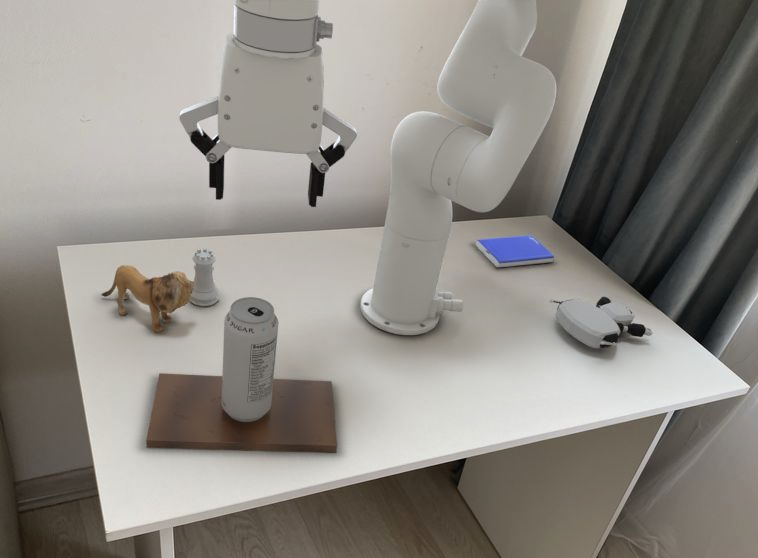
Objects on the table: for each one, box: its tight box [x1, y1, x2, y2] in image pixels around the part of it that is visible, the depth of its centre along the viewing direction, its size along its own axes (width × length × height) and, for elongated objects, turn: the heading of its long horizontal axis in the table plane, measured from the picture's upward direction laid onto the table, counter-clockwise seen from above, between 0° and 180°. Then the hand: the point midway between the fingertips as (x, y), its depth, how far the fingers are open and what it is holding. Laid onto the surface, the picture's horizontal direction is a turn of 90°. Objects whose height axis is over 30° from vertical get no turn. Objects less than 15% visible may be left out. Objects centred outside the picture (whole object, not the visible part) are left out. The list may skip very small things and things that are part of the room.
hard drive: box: [475, 234, 555, 268], centre depth 138 cm, size 2×8×12 cm
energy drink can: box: [221, 296, 280, 422], centre depth 86 cm, size 6×6×15 cm
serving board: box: [145, 372, 338, 453], centre depth 91 cm, size 22×12×1 cm, turn 98°
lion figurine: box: [100, 264, 195, 333], centre depth 101 cm, size 15×5×9 cm, turn 70°
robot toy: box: [548, 295, 653, 349], centre depth 120 cm, size 12×4×15 cm
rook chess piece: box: [189, 248, 220, 307], centre depth 107 cm, size 4×4×8 cm
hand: (266, 197), depth 78 cm, fingers open, 9 cm apart
